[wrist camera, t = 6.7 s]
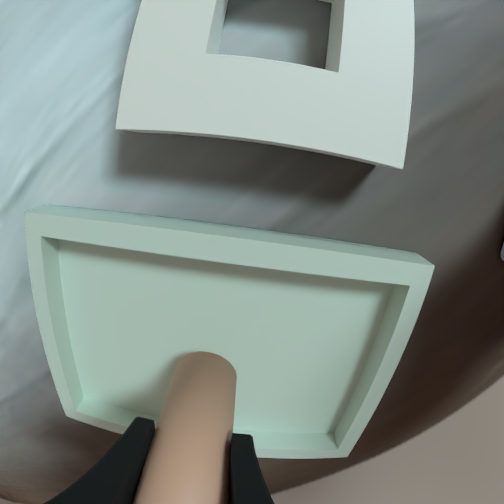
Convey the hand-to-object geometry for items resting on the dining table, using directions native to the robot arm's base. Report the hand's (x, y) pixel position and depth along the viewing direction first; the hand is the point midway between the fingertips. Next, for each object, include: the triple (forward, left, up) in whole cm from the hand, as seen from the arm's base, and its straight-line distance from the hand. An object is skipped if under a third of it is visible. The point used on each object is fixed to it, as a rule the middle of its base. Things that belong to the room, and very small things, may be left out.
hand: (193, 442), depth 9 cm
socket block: (-1, -15, -6) cm, 16 cm away
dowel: (0, 0, -4) cm, 4 cm away
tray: (0, 0, -6) cm, 6 cm away
